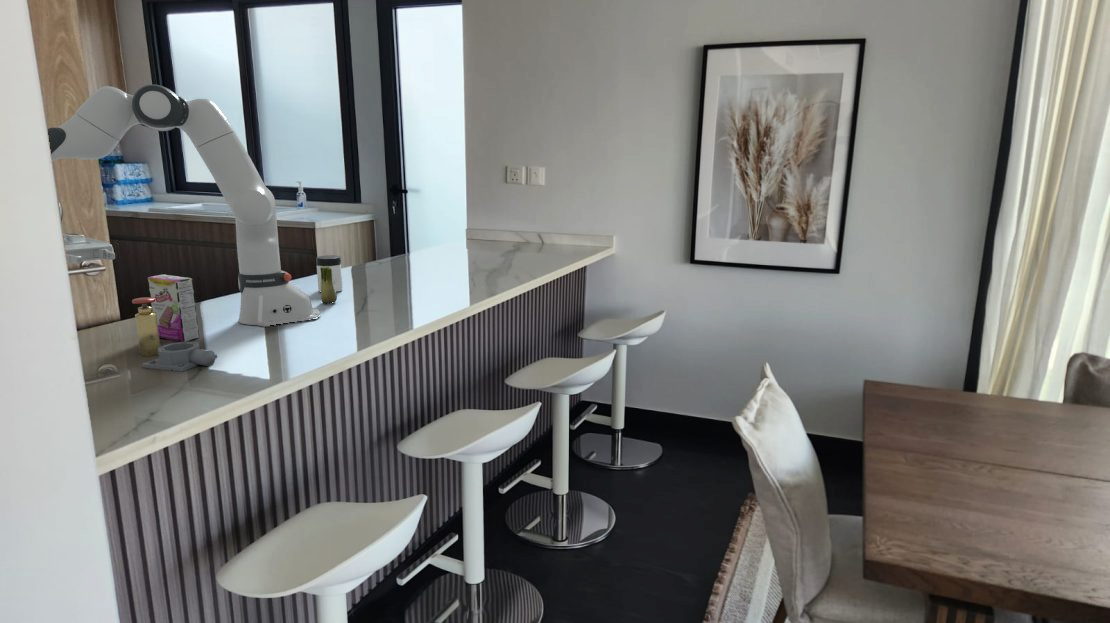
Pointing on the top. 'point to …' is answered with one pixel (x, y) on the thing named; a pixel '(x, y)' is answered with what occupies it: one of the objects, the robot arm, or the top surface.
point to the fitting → (181, 357)
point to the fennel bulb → (327, 286)
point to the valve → (147, 327)
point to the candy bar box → (174, 307)
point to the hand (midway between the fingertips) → (96, 258)
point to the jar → (335, 265)
